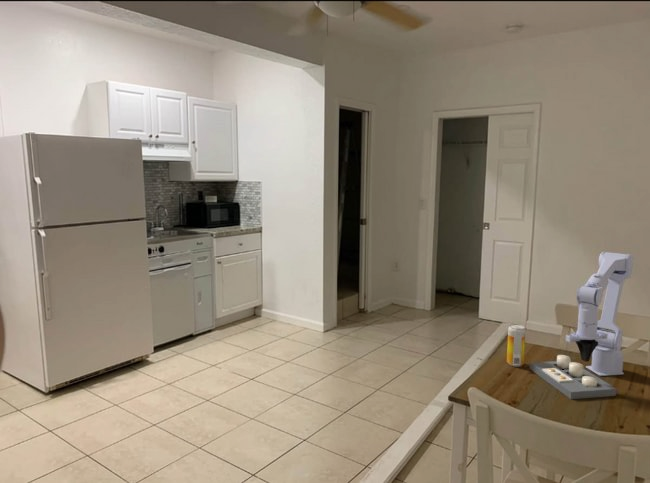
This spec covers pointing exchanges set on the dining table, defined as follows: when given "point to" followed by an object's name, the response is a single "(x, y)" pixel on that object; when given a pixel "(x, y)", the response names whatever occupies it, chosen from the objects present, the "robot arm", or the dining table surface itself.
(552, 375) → the tile
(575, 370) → the button
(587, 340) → the robot arm
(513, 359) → the beer can
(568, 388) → the board
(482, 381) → the dining table surface
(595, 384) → the button
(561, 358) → the button
